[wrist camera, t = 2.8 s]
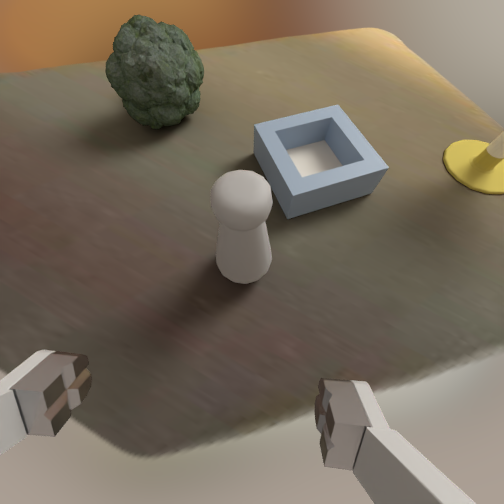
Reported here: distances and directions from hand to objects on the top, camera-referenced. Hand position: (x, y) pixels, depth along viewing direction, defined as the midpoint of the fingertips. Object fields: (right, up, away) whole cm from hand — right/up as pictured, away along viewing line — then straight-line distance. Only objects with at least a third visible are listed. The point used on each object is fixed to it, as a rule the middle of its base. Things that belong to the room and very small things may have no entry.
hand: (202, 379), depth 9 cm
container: (+10, +15, +25) cm, 31 cm away
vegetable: (-12, +27, +31) cm, 43 cm away
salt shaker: (+1, +3, +19) cm, 20 cm away
